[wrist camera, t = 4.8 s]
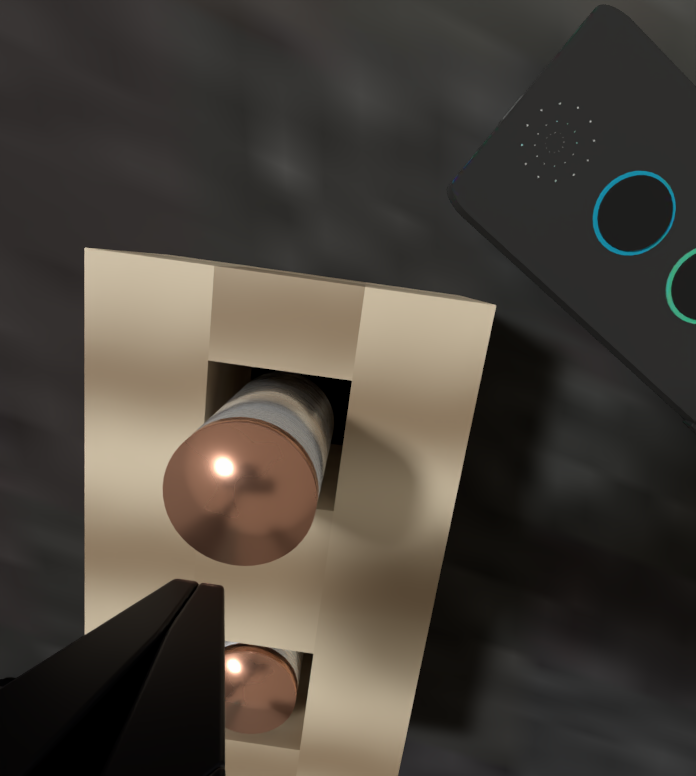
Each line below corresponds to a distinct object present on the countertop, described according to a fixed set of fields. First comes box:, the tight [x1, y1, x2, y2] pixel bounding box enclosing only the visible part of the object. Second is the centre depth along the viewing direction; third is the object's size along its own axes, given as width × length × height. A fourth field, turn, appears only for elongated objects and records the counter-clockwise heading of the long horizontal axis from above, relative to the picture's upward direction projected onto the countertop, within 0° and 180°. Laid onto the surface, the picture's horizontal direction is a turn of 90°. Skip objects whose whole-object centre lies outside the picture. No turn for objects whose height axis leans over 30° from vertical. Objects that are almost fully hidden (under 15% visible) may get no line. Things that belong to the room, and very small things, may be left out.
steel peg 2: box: [225, 641, 304, 734], centre depth 20 cm, size 4×4×6 cm
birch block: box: [85, 248, 496, 776], centre depth 19 cm, size 20×12×6 cm, turn 172°
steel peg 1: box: [163, 371, 334, 566], centre depth 14 cm, size 4×4×6 cm
